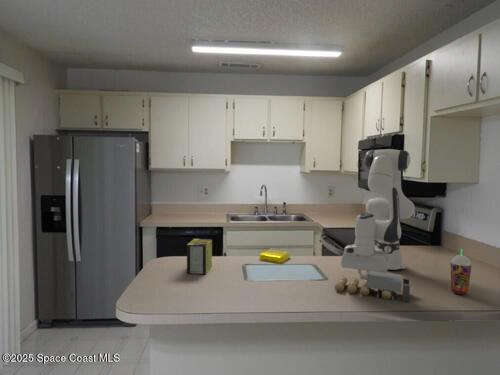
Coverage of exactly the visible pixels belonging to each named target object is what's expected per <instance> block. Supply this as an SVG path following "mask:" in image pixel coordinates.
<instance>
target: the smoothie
mask: <svg viewBox="0 0 500 375" xmlns="http://www.w3.org/2000/svg"><path fill="white" fill-rule="evenodd" d="M449 262H450V289H452V292H453V293H455V294H459V295H466V294H467V293H468V292H469V289H470V282H471V281H470V280H471V279H470V278H471V273H472V265H473V264H472V262H471V260H470V259H469V257H467V256H466V255H463V249H462V248H461V249H460V254H456V255H454V257H452V259H451V260H450V261H449Z"/></svg>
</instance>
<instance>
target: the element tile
mask: <svg viewBox="0 0 500 375" xmlns="http://www.w3.org/2000/svg"><path fill="white" fill-rule="evenodd" d="M290 258H291V252H290V251H284V250H277V249H276V250H275V249H273V248H271V249H267V250H265V251H263V252H260V253H259V260H260V261H264V262H271V263H277V264H282V263H283V264H284V263H285V262H286V261H287V260H290Z"/></svg>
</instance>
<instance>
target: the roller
mask: <svg viewBox="0 0 500 375" xmlns="http://www.w3.org/2000/svg"><path fill="white" fill-rule="evenodd" d="M381 290H382V289H381ZM381 297H382V299H383V300H390V299H392V291H389V290H382V291H381Z"/></svg>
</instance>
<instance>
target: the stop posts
mask: <svg viewBox="0 0 500 375" xmlns="http://www.w3.org/2000/svg"><path fill="white" fill-rule="evenodd" d="M410 288H411V287H410V278H408V277H403V278H402V302H404V303H410V292H411V291H410Z"/></svg>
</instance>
